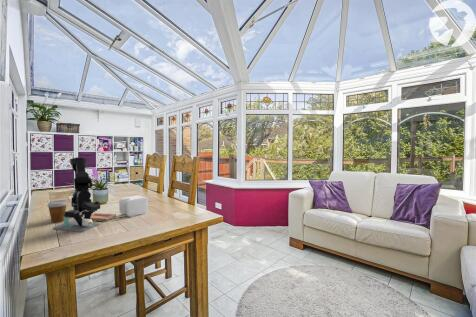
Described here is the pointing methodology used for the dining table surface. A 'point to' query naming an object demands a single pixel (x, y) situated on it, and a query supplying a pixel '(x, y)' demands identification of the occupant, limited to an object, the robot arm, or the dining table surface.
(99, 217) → the tray
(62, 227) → the board
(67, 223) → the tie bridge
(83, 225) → the white bottle
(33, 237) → the dining table surface
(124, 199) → the cable organizer
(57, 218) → the disposable coffee cup
